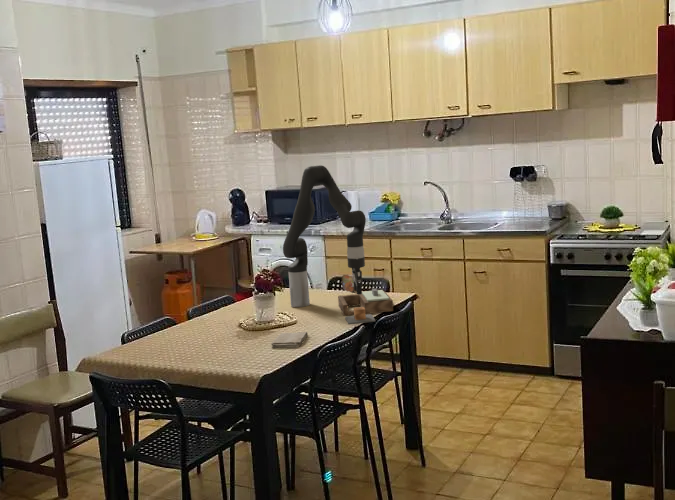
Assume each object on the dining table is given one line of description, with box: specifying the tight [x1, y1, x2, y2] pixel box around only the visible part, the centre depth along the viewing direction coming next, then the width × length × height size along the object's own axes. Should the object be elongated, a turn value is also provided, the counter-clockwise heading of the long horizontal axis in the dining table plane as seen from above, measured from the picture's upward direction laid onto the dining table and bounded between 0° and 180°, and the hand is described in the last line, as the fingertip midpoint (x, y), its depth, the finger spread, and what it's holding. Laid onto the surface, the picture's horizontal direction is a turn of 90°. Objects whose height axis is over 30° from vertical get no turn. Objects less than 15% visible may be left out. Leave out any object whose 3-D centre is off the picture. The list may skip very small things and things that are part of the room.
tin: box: [341, 274, 357, 293], centre depth 406 cm, size 15×3×8 cm, turn 25°
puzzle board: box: [337, 290, 394, 317], centre depth 363 cm, size 23×21×5 cm
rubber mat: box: [344, 313, 376, 325], centre depth 342 cm, size 12×12×1 cm
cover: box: [362, 288, 390, 302], centre depth 363 cm, size 10×19×3 cm, turn 6°
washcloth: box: [270, 331, 308, 349], centre depth 313 cm, size 12×18×3 cm, turn 171°
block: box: [353, 306, 367, 320], centre depth 342 cm, size 4×4×4 cm
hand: (358, 292), depth 340 cm, fingers open, 8 cm apart
